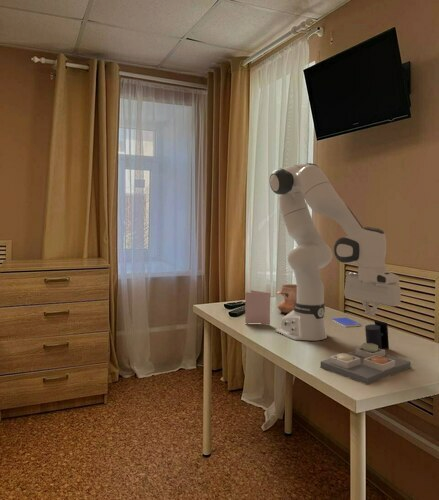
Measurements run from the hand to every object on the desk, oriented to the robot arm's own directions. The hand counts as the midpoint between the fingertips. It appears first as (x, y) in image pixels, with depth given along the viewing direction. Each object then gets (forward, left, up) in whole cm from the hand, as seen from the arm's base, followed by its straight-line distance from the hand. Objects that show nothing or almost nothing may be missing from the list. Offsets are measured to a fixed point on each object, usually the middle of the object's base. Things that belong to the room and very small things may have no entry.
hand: (370, 314), depth 146 cm
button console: (+3, -6, -17) cm, 18 cm away
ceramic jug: (-67, +33, -17) cm, 76 cm away
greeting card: (-61, +2, -17) cm, 63 cm away
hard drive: (-37, +37, -17) cm, 55 cm away
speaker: (-7, +15, -17) cm, 23 cm away
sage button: (0, +1, -13) cm, 13 cm away
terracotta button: (+8, -6, -14) cm, 18 cm away
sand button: (0, -13, -14) cm, 20 cm away
